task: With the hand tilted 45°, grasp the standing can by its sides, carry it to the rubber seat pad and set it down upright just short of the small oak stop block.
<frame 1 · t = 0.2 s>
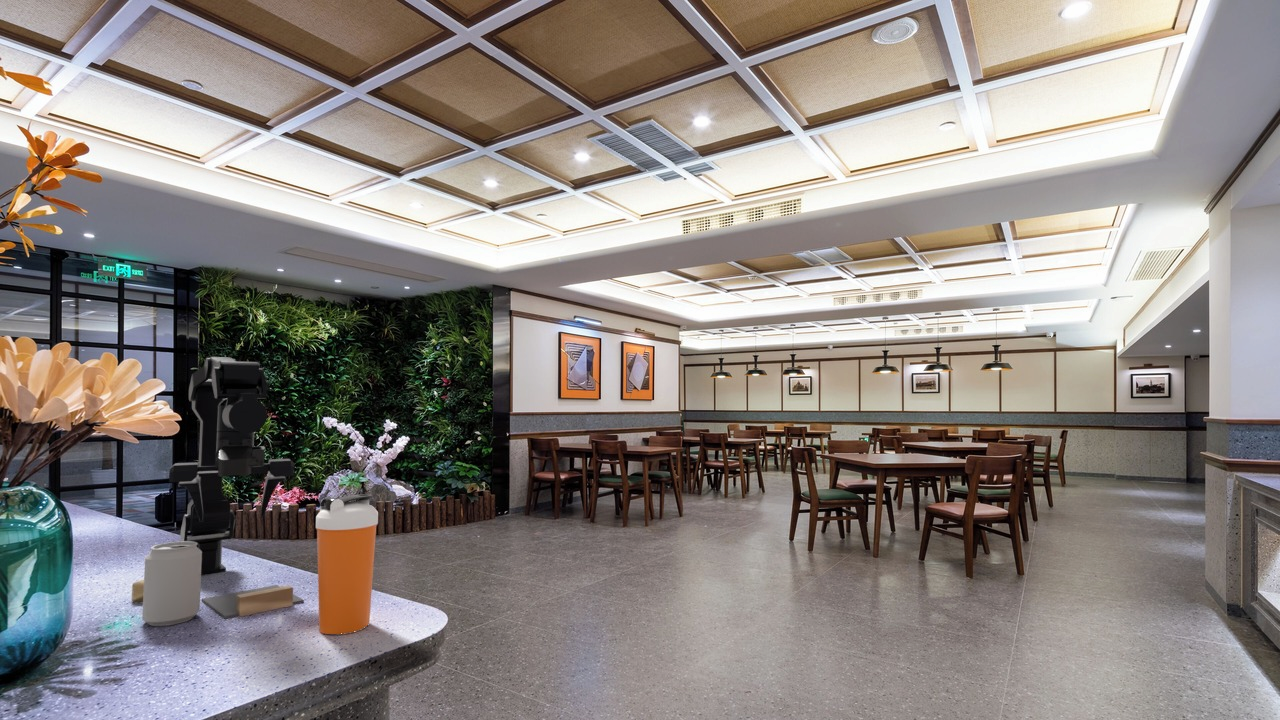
hand: (232, 518, 117), 14 cm above the countertop, tool pointing down, fingers open, 9 cm apart
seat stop: (265, 600, 110), on the countertop
can: (171, 621, 105), on the countertop
seat pad: (254, 602, 114), on the countertop
old spacer: (149, 599, 117), on the countertop
shaker bottle: (344, 628, 101), on the countertop
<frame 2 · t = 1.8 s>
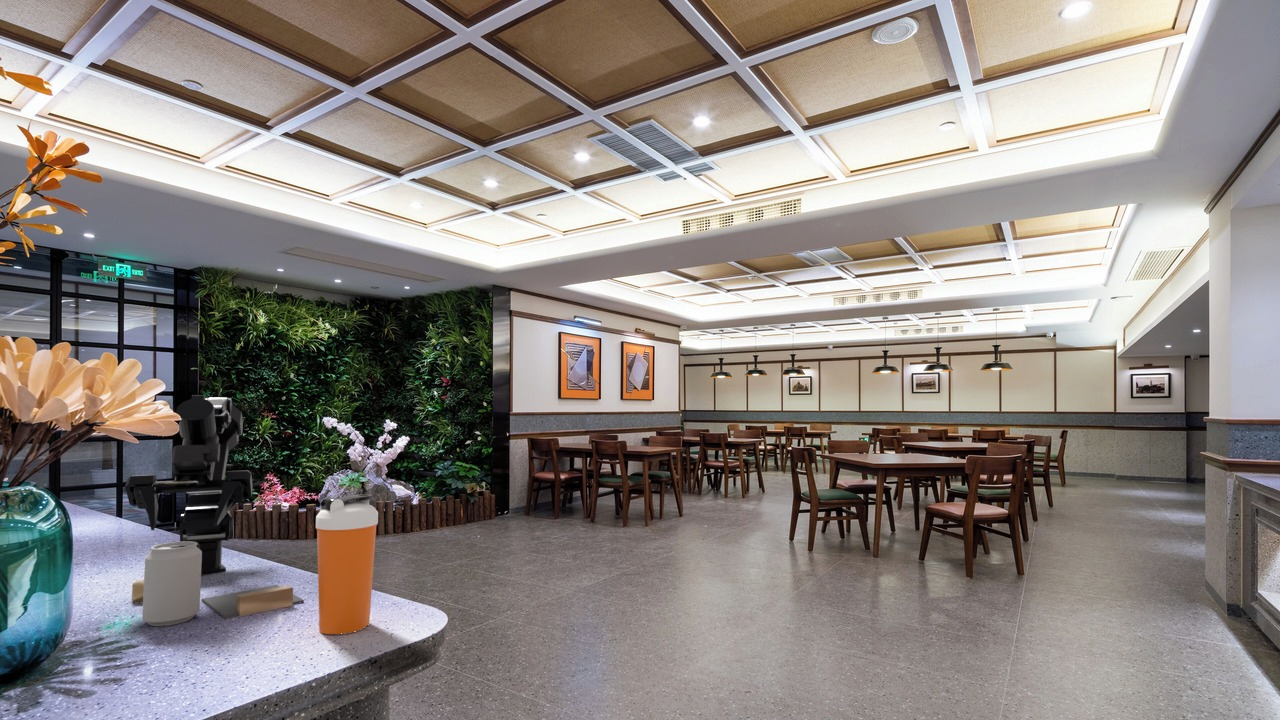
hand: (184, 526, 114), 13 cm above the countertop, tool tilted 45°, fingers open, 9 cm apart
nothing on the countertop moved.
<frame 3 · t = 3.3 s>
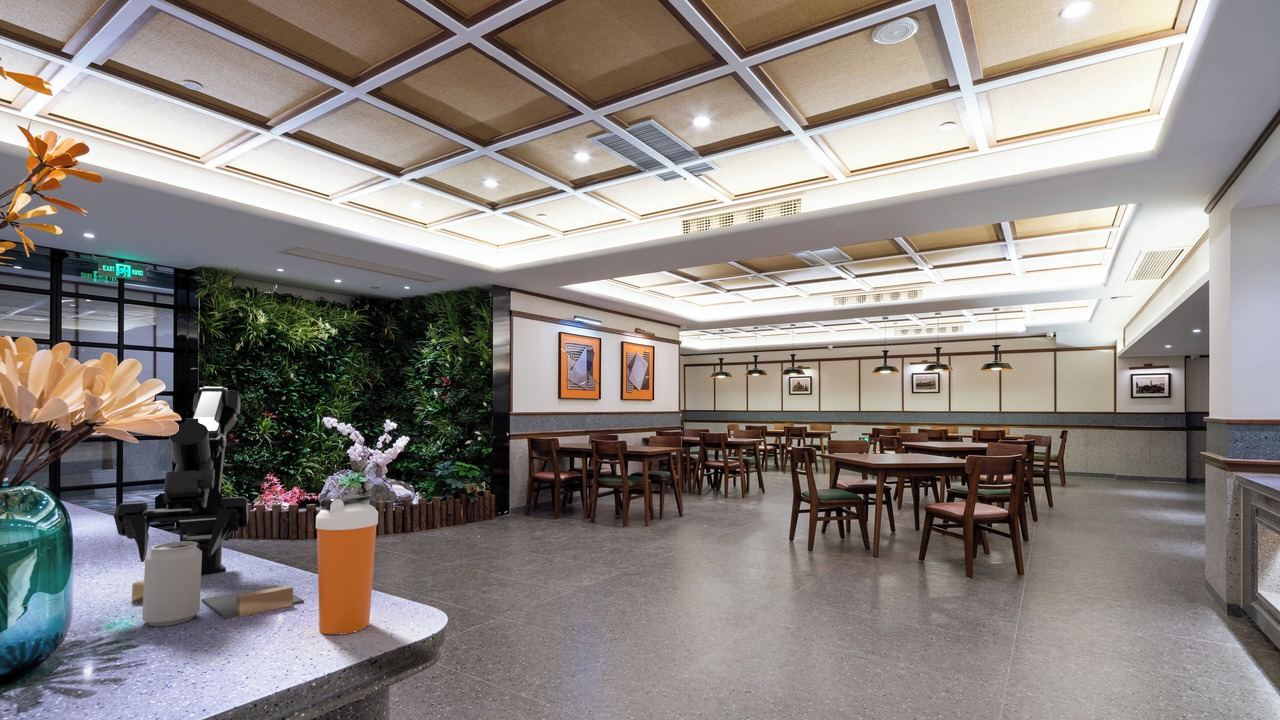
hand: (176, 557, 108), 9 cm above the countertop, tool tilted 45°, fingers open, 9 cm apart
nothing on the countertop moved.
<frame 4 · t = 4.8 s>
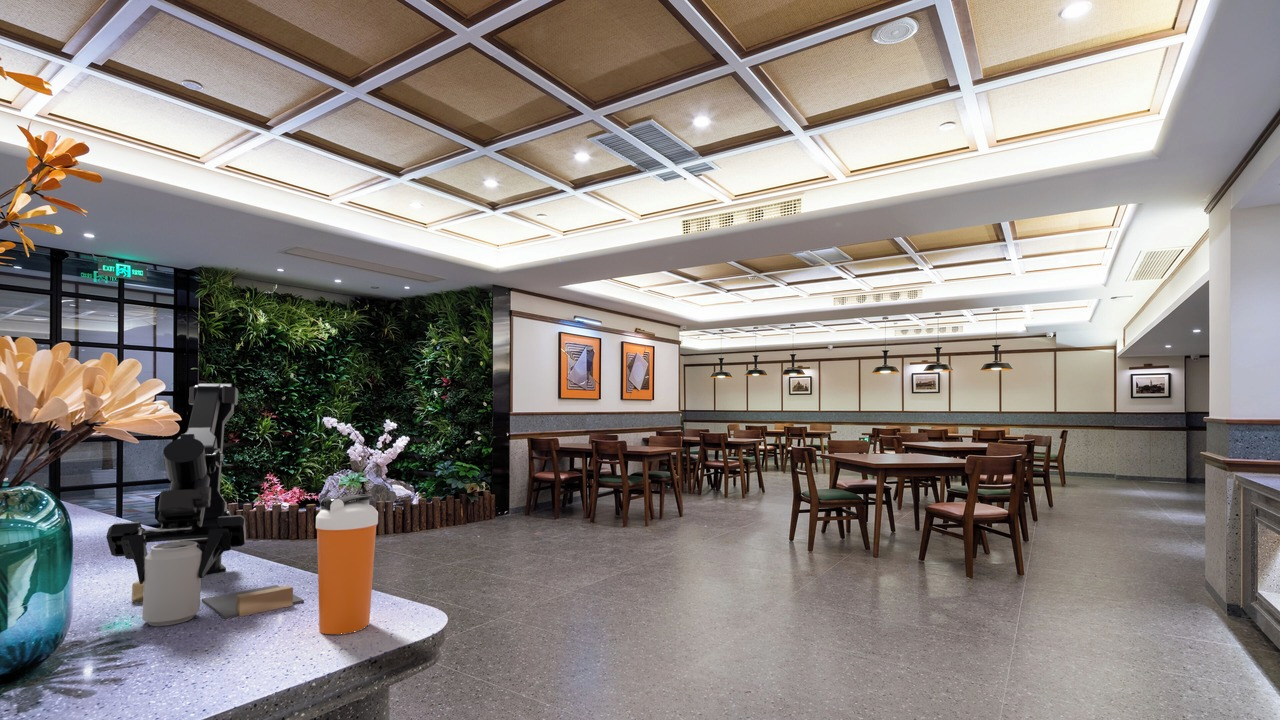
hand: (171, 579, 104), 7 cm above the countertop, tool tilted 45°, fingers closed on can, 7 cm apart
can: (171, 621, 105), on the countertop, touching gripper
everything else where it was.
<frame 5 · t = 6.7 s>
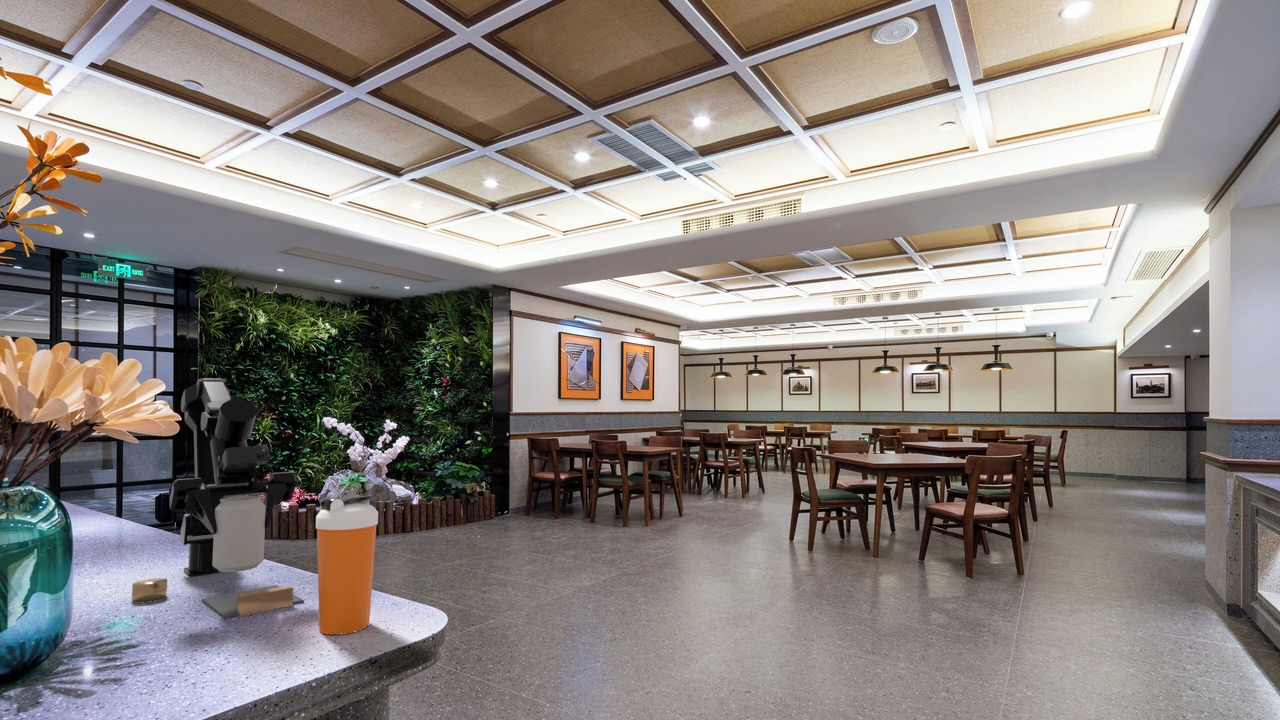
hand: (241, 529, 112), 13 cm above the countertop, tool tilted 45°, fingers closed on can, 7 cm apart
can: (238, 568, 112), point 6 cm above the countertop, touching gripper
everything else where it was.
when the fingers open (8 cm above the countertop, at t = 8.8 s): can stays where it is, resting on seat pad.
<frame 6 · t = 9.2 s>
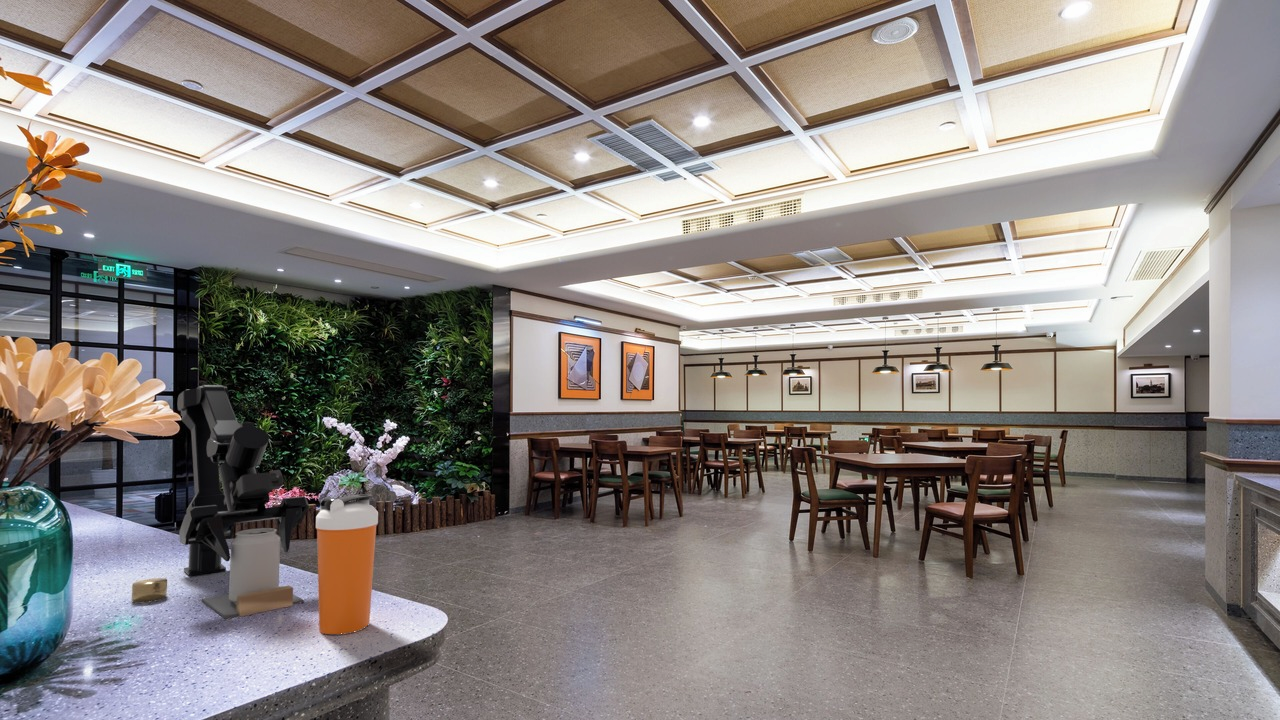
hand: (258, 555, 113), 8 cm above the countertop, tool tilted 45°, fingers open, 9 cm apart
can: (253, 601, 114), resting on seat pad
everything else where it was.
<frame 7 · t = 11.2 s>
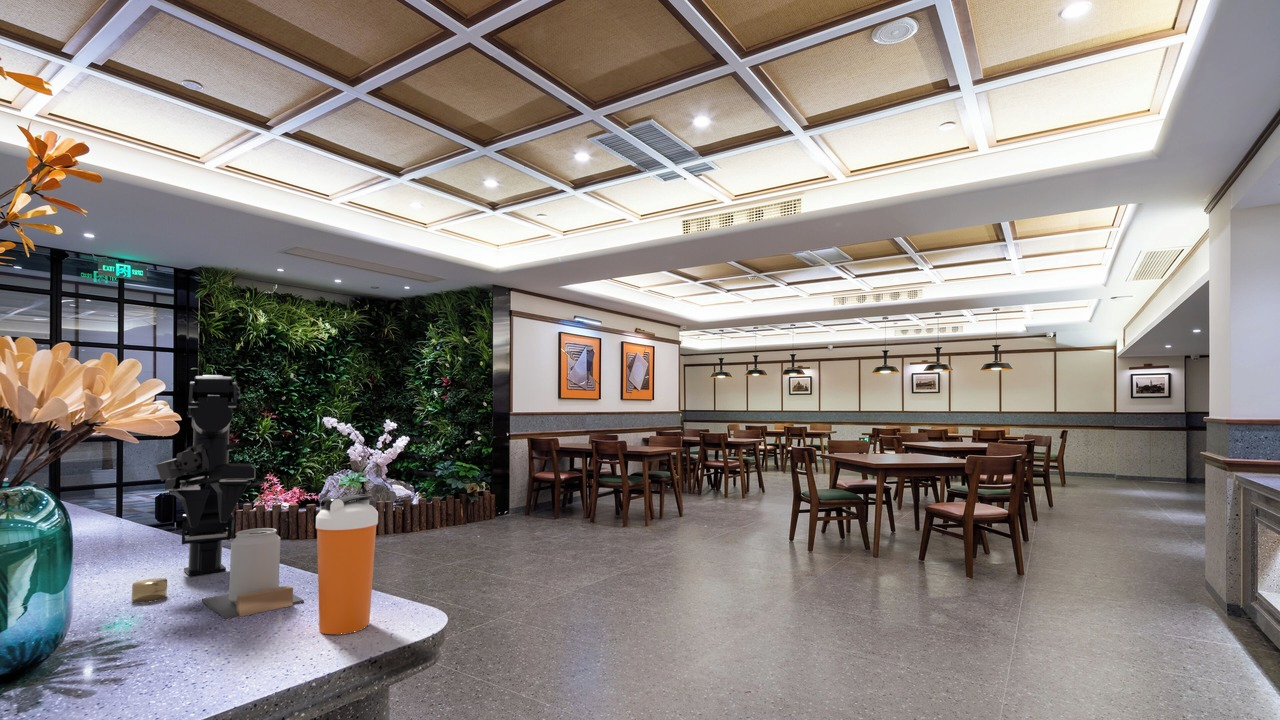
hand: (208, 524, 121), 12 cm above the countertop, tool pointing down, fingers open, 9 cm apart
nothing on the countertop moved.
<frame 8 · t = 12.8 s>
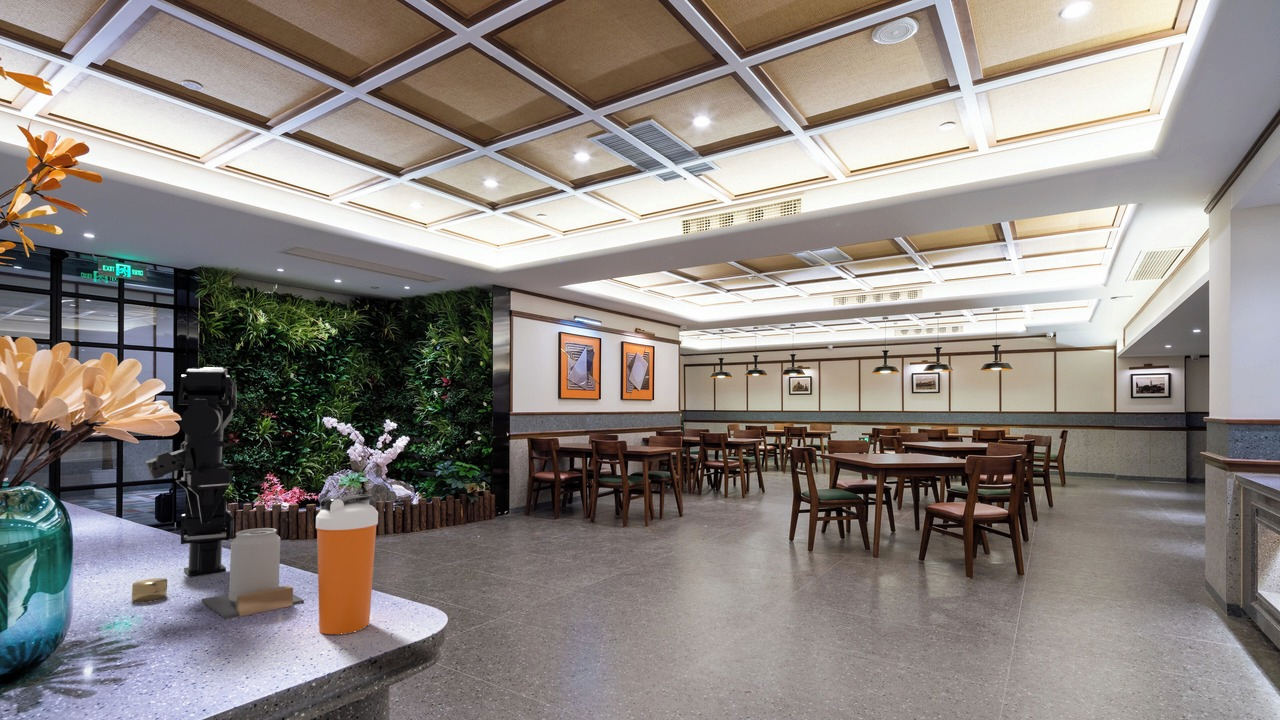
hand: (200, 520, 122), 13 cm above the countertop, tool pointing down, fingers open, 9 cm apart
nothing on the countertop moved.
at the end: can inside the target area on the seat pad (0.5 cm from its centre), point 0.2 cm above the seat pad's base; can tilted 0°; the gripper is holding nothing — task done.
